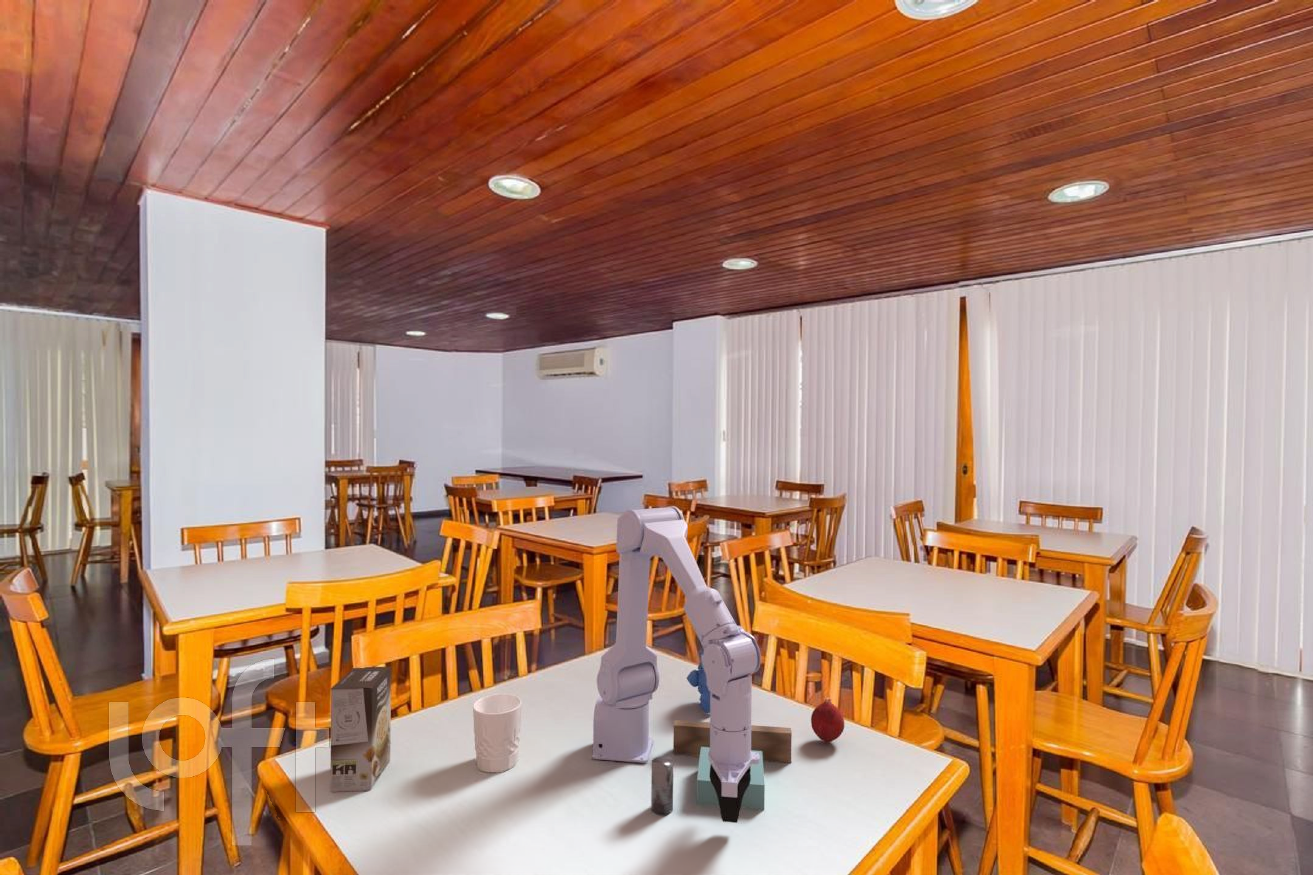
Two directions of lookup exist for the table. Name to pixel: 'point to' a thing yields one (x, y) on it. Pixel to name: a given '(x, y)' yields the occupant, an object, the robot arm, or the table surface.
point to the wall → (762, 739)
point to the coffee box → (360, 728)
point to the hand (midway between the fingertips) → (729, 819)
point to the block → (752, 794)
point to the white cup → (497, 731)
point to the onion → (827, 721)
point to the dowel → (662, 786)
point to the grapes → (701, 685)
